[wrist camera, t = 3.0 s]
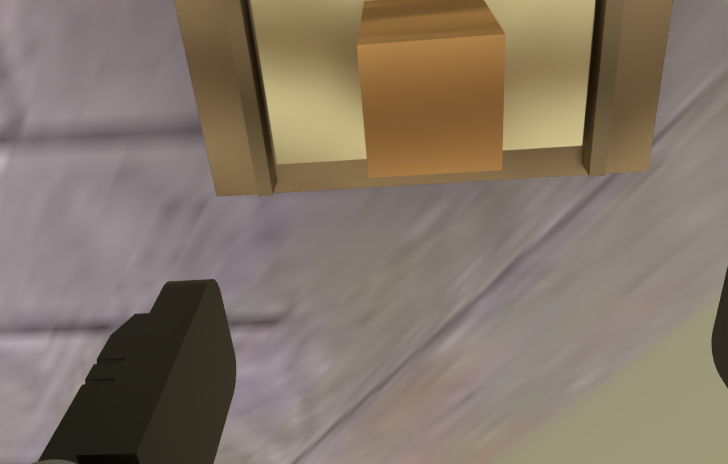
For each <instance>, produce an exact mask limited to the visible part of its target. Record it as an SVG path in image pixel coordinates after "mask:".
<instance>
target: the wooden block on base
mask: <svg viewBox="0 0 728 464" xmlns="http://www.w3.org/2000/svg"><path fill="white" fill-rule="evenodd" d="M250 2H251V8H252V14H253V20H254V26H255V33H256V39H257V45H258V51H259V57H260V64H261V70H262V76H263V82H264V88H265V94H266V101H267V107H268V113H269V119H270V125H271V131H272V138H273V144H274V150H275V156H276V162H277V165H278V164H294V163H310V162H326V161H342V160H358V159H367V168H368V178H378V177H395V176H412V175H428V174H445V173H461V172H478V171H495V170H502V155H503V150H519V149H535V148H551V147H567V146H582V142H583V131H584V119H585V108H586V97H587V86H588V75H589V64H590V53H591V42H592V31H593V20H594V9H595V0H250Z"/></svg>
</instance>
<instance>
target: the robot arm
mask: <svg viewBox="0 0 728 464" xmlns="http://www.w3.org/2000/svg"><path fill="white" fill-rule="evenodd" d="M712 354H713V359H714V363H715V366H716V369H717V371H718V373H719V375H720V377H721V378H722V380H723V382H724V383H725V385H726V386H727V388H728V268H727V272H726V276H725V280H724V285H723V289H722V293H721V298H720V302H719V306H718V311H717V315H716V320H715V324H714V328H713V333H712ZM235 383H236V359H235V352H234V348H233V343H232V339H231V335H230V330H229V326H228V322H227V317H226V313H225V309H224V305H223V300H222V296H221V292H220V288H219V286H218V284H217V282H216V281H215V280H214V279H207V280H187V281H169V282H167V283H166V284H165V285H164V286H163V288H162V290H161V292H160V294H159V296H158V298H157V300H156V302H155V303H154V305H153V307H152V309H151V311H150V313H144V314H135V315H134V316H132V317H131V318H130V319H129V320H128V321H127V322H125V323H124V324H123V325H122V326H121V327H120V328H118V329H117V330H116V331H115V332H114V333H113V334H112V335H111V336H110V337H109V339H108V341H107V343H106V344H105V346H104V348H103V349H102V351H101V353H100V355H99V356H98V358H97V364H94V365H93V367H92V368H91V370H90V372H89V374H88V375H87V377H86V379H85V385H82V386H81V388H80V389H79V391H78V393H77V394H76V396H75V398H74V400H73V401H72V403H71V405H70V407H69V408H68V410H67V412H66V413H65V415H64V417H63V419H62V420H61V422H60V424H59V426H58V427H57V429H56V431H55V433H54V434H53V436H52V438H51V439H50V441H49V443H48V445H47V446H46V448H45V450H44V452H43V453H42V455H41V457H40V459H39V460H38V462H35V463H31V464H213V463H214V460H215V456H216V453H217V449H218V446H219V442H220V439H221V435H222V432H223V428H224V425H225V421H226V418H227V414H228V411H229V407H230V404H231V401H232V397H233V394H234V389H235Z"/></svg>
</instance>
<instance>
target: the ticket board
mask: <svg viewBox="0 0 728 464" xmlns="http://www.w3.org/2000/svg"><path fill="white" fill-rule="evenodd" d="M174 2H175V7H176V11H177V16H178V21H179V25H180V30H181V34H182V39H183V44H184V48H185V53H186V57H187V62H188V67H189V71H190V76H191V80H192V85H193V90H194V94H195V99H196V103H197V108H198V112H199V117H200V122H201V126H202V131H203V135H204V140H205V145H206V149H207V154H208V158H209V163H210V168H211V172H212V177H213V181H214V186H215V191H216V195H217V196H232V195H249V194H258V196H266V195H273V193H283V192H300V191H317V190H334V189H351V188H368V187H385V186H401V185H418V184H435V183H452V182H469V181H486V180H503V179H520V178H537V177H553V176H570V175H587V174H588V175H589V176H605V173H621V172H638V171H648V166H649V159H650V152H651V145H652V139H653V132H654V125H655V118H656V111H657V105H658V98H659V91H660V84H661V77H662V71H663V64H664V57H665V50H666V43H667V37H668V30H669V23H670V16H671V9H672V3H673V0H595V9H594V20H593V31H592V42H591V53H590V64H589V75H588V86H587V97H586V108H585V119H584V131H583V142H582V146H567V147H551V148H535V149H519V150H503V155H502V170H495V171H478V172H461V173H445V174H428V175H412V176H395V177H378V178H368V168H367V159H358V160H342V161H326V162H310V163H294V164H278V165H277V162H276V156H275V150H274V144H273V138H272V131H271V125H270V119H269V113H268V107H267V101H266V94H265V88H264V82H263V76H262V70H261V64H260V57H259V51H258V45H257V39H256V33H255V26H254V20H253V14H252V8H251V2H250V0H174Z"/></svg>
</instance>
